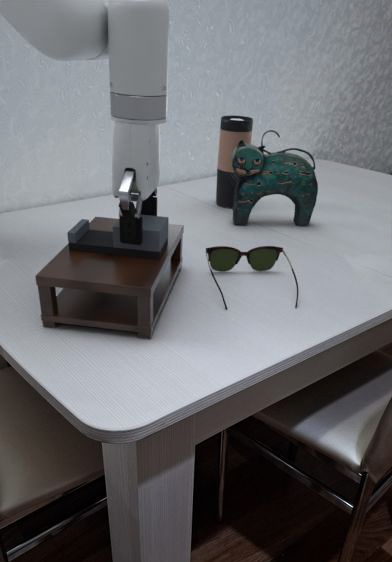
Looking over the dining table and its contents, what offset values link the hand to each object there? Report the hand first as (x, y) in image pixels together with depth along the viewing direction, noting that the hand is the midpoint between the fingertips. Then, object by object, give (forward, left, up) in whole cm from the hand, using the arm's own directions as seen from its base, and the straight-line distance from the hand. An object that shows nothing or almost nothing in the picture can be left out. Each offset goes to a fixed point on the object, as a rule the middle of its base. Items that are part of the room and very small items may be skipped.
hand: (139, 231), depth 76 cm
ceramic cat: (+20, +43, -11) cm, 48 cm away
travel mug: (+10, +55, -11) cm, 57 cm away
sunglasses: (+18, +7, -11) cm, 22 cm away
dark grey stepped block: (-3, 0, -3) cm, 4 cm away
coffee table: (-3, 0, -11) cm, 11 cm away
